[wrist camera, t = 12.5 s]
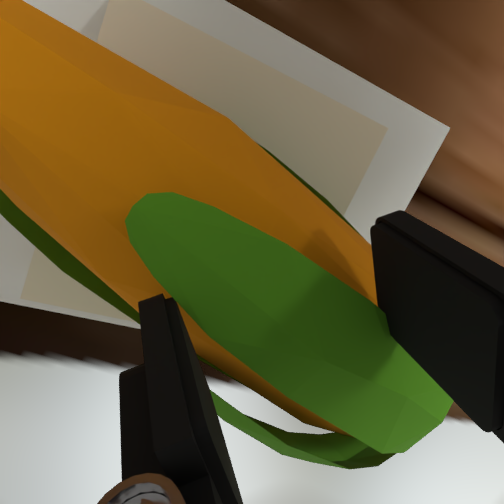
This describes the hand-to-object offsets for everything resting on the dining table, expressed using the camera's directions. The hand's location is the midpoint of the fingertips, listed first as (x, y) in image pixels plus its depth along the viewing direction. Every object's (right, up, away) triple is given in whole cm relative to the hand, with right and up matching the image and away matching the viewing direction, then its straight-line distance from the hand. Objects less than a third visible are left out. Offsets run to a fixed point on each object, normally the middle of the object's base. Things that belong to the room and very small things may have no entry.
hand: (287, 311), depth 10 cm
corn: (-2, +2, +6) cm, 7 cm away
